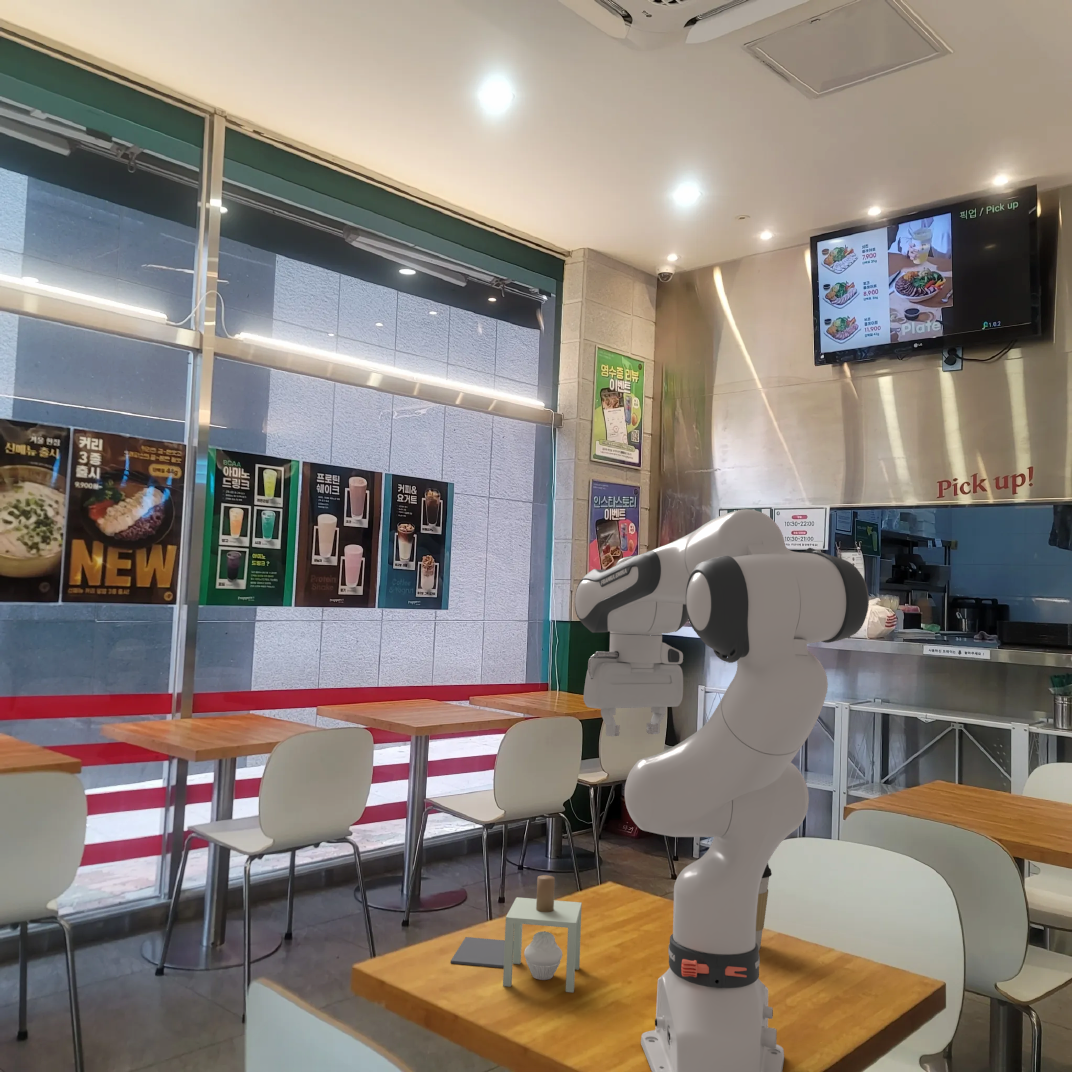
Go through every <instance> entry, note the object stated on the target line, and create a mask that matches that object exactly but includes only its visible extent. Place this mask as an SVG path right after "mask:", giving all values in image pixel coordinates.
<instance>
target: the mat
mask: <svg viewBox="0 0 1072 1072" xmlns="http://www.w3.org/2000/svg"><path fill="white" fill-rule="evenodd" d="M513 944H514V941H513ZM504 948H505V939H504V940H503V939H494V938H480V937H472V936H471V937H470V936H465V938H464V939H463V941H462V942H461V943H460V945H459V947H458V948H457V950H456V952H455V953H454V955H453V956H452V958H451V959H450V964H457V965H467V966H476V967H477V966H478V967H488V968H499V969H504Z"/></svg>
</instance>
